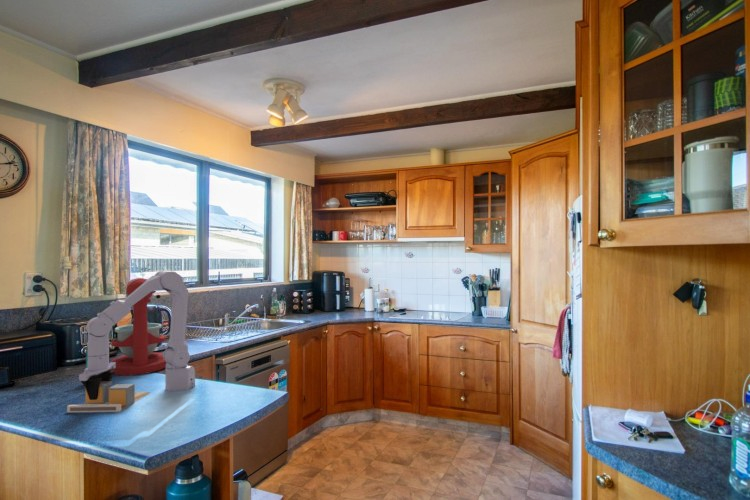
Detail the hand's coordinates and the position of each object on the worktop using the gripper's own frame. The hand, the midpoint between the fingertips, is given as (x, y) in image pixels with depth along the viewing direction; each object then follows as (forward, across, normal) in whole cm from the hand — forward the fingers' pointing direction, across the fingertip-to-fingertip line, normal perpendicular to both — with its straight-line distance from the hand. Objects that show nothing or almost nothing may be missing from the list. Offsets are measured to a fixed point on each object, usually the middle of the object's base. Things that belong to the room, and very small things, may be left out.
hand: (98, 396), depth 130 cm
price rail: (+3, +6, +2) cm, 7 cm away
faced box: (+3, 0, +8) cm, 8 cm away
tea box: (+2, 0, 0) cm, 2 cm away
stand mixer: (+4, -51, -16) cm, 54 cm away
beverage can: (+4, -29, -21) cm, 36 cm away
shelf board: (+4, -3, +2) cm, 6 cm away
